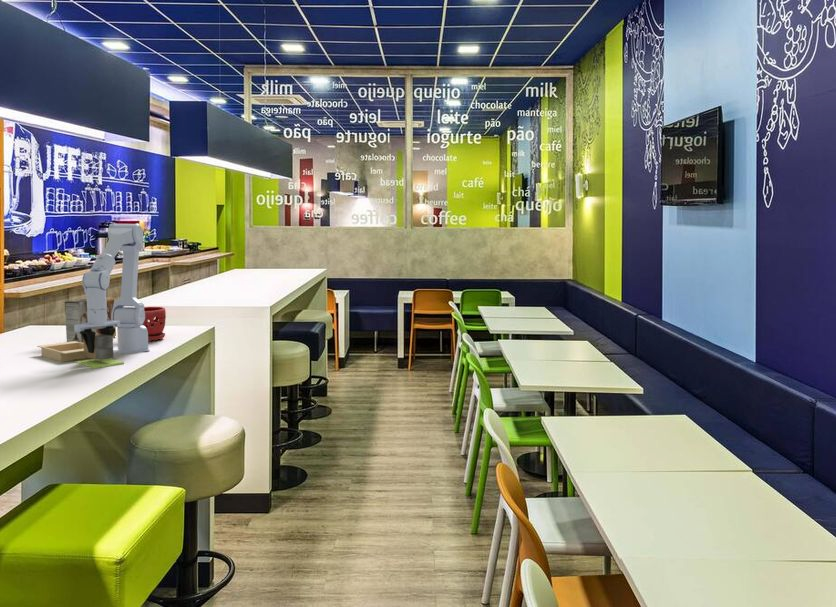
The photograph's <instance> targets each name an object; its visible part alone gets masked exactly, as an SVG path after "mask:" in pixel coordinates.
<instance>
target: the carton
mask: <svg viewBox="0 0 836 607" xmlns="http://www.w3.org/2000/svg"><path fill="white" fill-rule="evenodd" d="M37 348H39V349H41V350H40V351H41V357H42V358H46V359H48V360H49V359H50V360H53V361H57V362H60V363H61V362H62V363H63V362H68V361H77V360H81V359H82V360H84V359H90V358H89V357H84V343H81V342H77V341H72V342H67V341H66V342H65V341H64V342H57V343H50V344H48V343H47V344H42V345H37Z"/></svg>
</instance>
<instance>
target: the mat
mask: <svg viewBox="0 0 836 607" xmlns="http://www.w3.org/2000/svg"><path fill="white" fill-rule="evenodd" d="M73 361H74V363H76V364H79V365H83V366H87V367H88V368H90V369H93V370H94V369H100V367H101V368H106V367H112V366H118V365H119V364H120V365H123V364H125V362H124V361H122V360H119V359H118V360H117V359H114V358H109V359H103V360H98V359H94V358H87V359H82V360H81V359H80V360H73Z"/></svg>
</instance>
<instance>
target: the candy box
mask: <svg viewBox="0 0 836 607" xmlns="http://www.w3.org/2000/svg"><path fill="white" fill-rule="evenodd" d="M106 301H107V321H112V320H111V312H112V310H113V304H114V302H115V299H114V297H106ZM100 327H102V326H100ZM113 328H115V333H114V334H113V337H114V338H116V337H117V329H116V328H117V327H113ZM97 333H99V334H101V332H100V329H97ZM115 336H116V337H115Z"/></svg>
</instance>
